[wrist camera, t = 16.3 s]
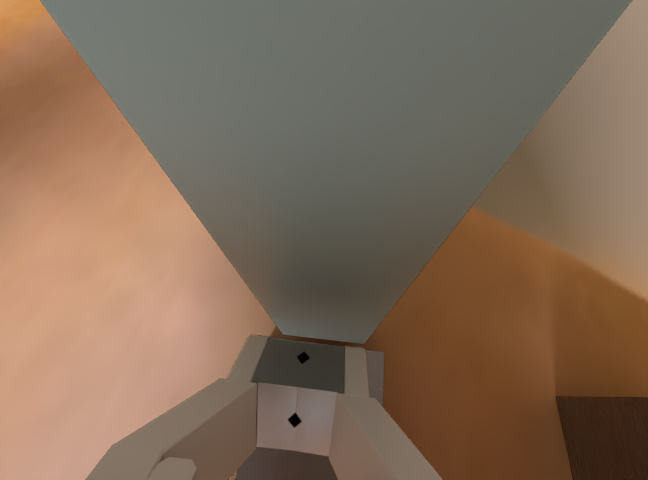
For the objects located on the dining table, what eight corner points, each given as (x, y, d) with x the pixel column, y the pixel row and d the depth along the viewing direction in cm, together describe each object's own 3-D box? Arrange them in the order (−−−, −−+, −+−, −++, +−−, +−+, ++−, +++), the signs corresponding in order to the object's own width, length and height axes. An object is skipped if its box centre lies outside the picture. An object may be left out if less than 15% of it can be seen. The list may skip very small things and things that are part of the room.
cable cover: (283, 334, 15) (-96, -186, 2) (308, 180, 19) (269, -311, 6) (364, 343, 15) (763, -170, 1) (371, 186, 19) (482, -312, 6)
